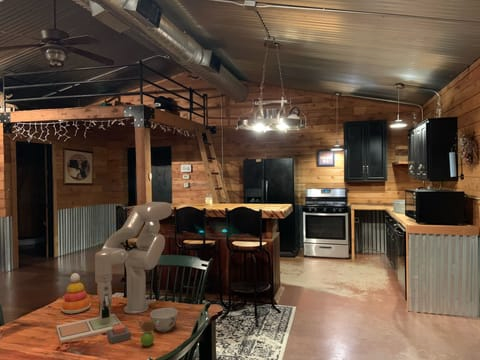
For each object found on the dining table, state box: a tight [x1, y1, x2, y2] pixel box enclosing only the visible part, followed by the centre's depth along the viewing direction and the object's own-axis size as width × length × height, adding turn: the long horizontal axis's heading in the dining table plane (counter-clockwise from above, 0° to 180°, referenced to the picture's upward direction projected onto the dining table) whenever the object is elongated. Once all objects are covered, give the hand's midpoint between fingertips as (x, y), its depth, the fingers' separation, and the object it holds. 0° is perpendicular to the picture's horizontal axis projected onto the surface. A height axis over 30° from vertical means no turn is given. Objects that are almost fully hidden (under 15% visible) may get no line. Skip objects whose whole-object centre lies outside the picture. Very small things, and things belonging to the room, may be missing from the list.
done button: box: [113, 323, 126, 335], centre depth 154 cm, size 4×4×3 cm
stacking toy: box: [60, 272, 92, 315], centre depth 187 cm, size 14×14×20 cm
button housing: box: [106, 325, 132, 345], centre depth 154 cm, size 8×8×3 cm
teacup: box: [149, 307, 179, 332], centre depth 161 cm, size 15×12×8 cm
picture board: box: [56, 313, 122, 344], centre depth 164 cm, size 26×18×1 cm
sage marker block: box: [98, 302, 112, 324], centre depth 168 cm, size 4×4×10 cm
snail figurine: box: [137, 316, 155, 347], centre depth 147 cm, size 5×6×12 cm
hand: (104, 315), depth 168 cm, fingers open, 5 cm apart
